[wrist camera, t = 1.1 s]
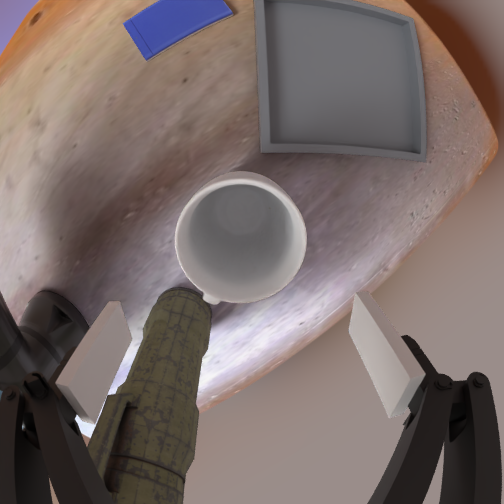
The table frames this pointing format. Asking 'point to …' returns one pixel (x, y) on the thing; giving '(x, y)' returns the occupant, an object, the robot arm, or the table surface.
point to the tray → (339, 80)
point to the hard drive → (173, 23)
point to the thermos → (155, 406)
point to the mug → (240, 238)
